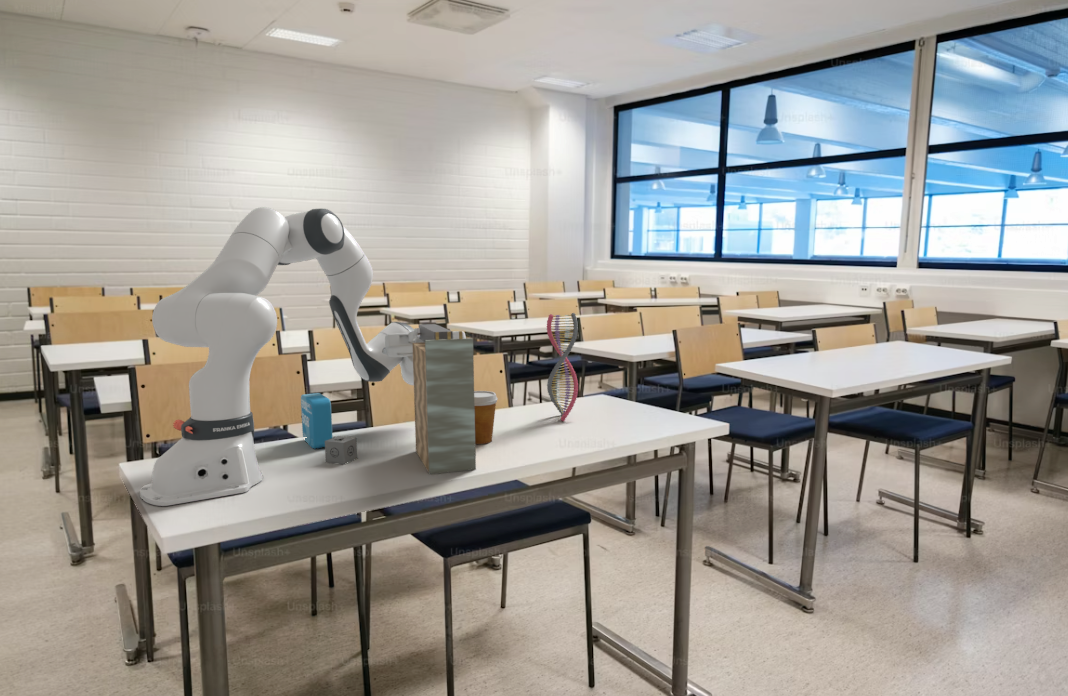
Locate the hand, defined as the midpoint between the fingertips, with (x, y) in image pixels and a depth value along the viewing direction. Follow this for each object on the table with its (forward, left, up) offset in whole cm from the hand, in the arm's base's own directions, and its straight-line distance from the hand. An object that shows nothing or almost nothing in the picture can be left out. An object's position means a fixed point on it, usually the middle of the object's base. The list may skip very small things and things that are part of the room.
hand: (429, 330), depth 169 cm
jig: (-6, -13, -28) cm, 32 cm away
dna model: (+43, -3, -28) cm, 52 cm away
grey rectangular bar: (-3, -7, -2) cm, 8 cm away
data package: (-20, +21, -29) cm, 41 cm away
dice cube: (-23, +3, -29) cm, 37 cm away
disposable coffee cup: (+10, -6, -28) cm, 31 cm away
